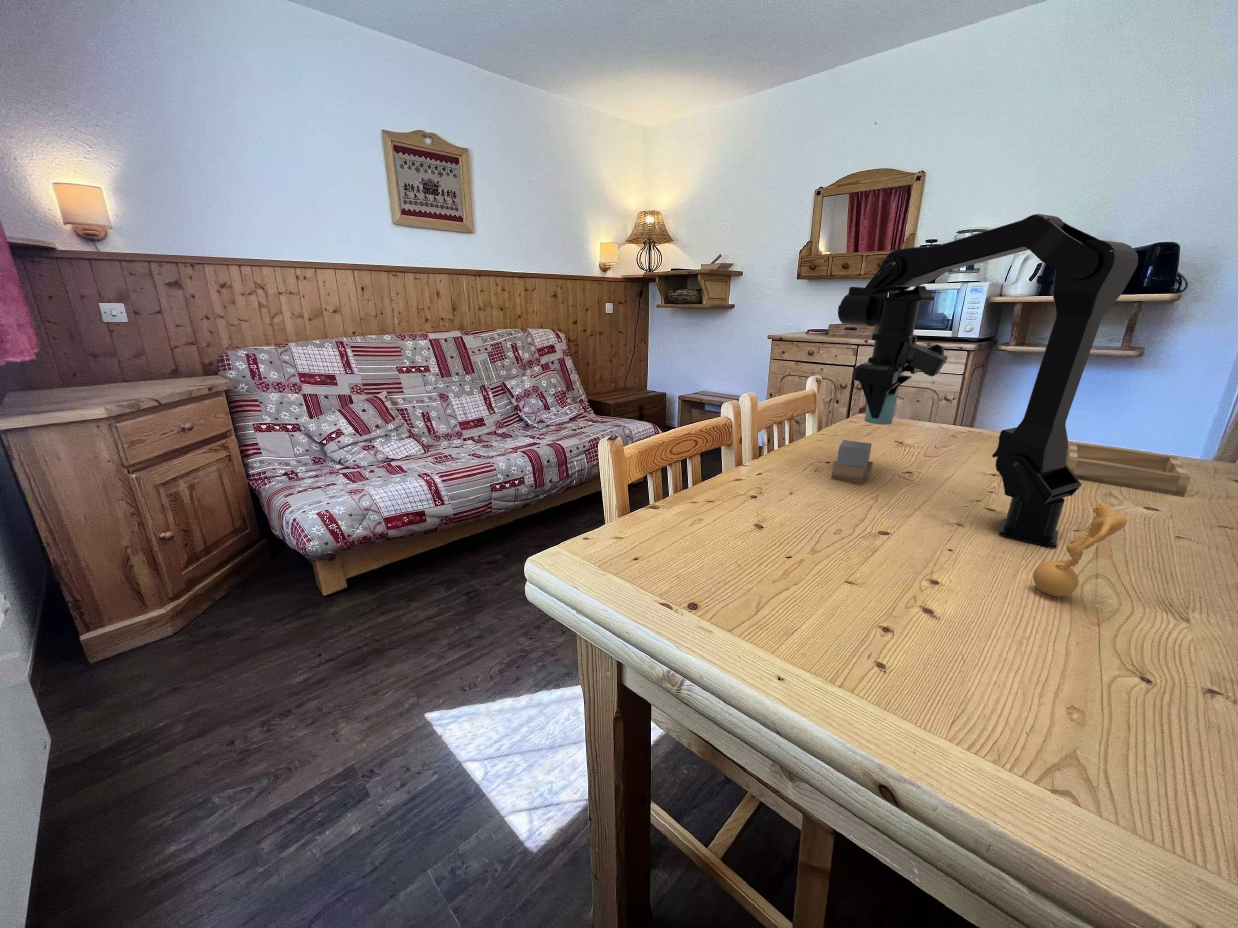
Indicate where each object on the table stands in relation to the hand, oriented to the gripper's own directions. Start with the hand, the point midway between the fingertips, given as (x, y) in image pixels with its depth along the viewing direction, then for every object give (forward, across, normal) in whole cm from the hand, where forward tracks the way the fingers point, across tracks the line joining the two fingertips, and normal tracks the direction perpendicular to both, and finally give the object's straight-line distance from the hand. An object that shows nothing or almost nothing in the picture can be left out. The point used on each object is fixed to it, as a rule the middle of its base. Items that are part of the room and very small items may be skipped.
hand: (879, 416), depth 92 cm
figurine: (+12, -28, -29) cm, 42 cm away
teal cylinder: (+1, 0, 0) cm, 1 cm away
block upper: (+9, -1, +3) cm, 10 cm away
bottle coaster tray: (+12, +36, -36) cm, 52 cm away
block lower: (+13, -1, +3) cm, 13 cm away
